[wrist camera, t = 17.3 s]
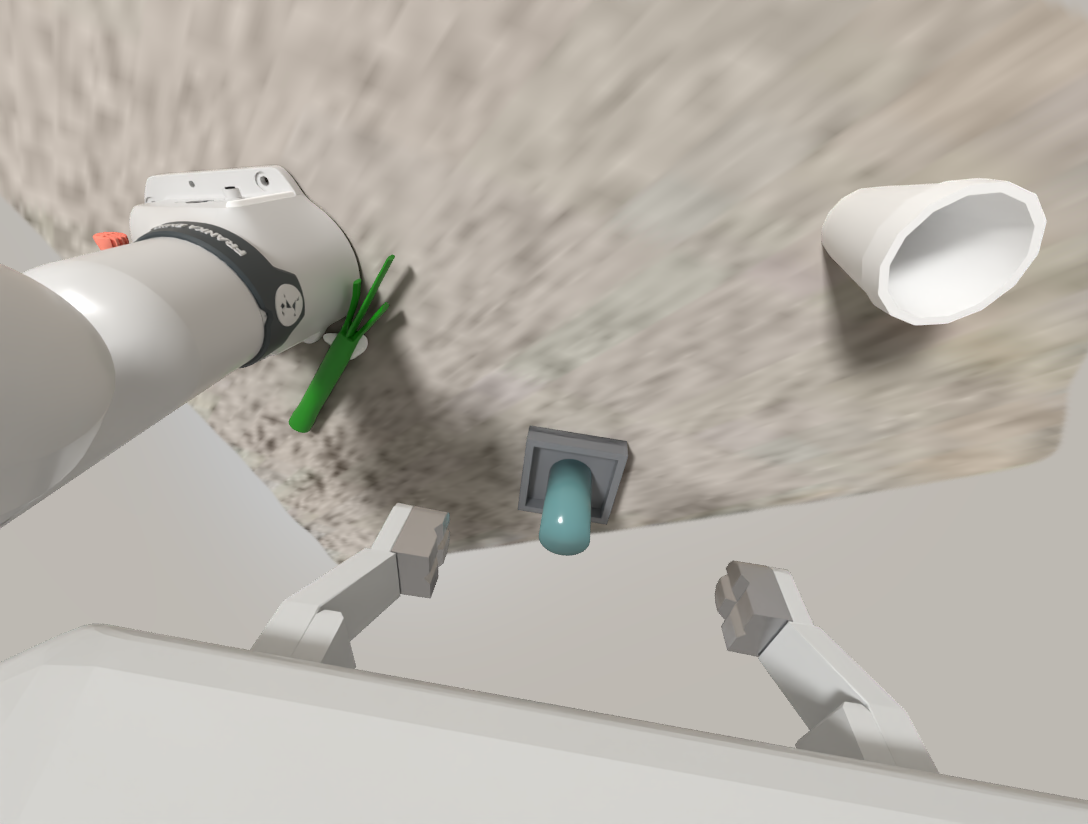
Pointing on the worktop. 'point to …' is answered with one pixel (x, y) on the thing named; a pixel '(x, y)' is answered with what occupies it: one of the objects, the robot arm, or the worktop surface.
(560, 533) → the teal cylinder
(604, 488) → the tray
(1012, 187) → the foam cup
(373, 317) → the green onion
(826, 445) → the worktop surface
